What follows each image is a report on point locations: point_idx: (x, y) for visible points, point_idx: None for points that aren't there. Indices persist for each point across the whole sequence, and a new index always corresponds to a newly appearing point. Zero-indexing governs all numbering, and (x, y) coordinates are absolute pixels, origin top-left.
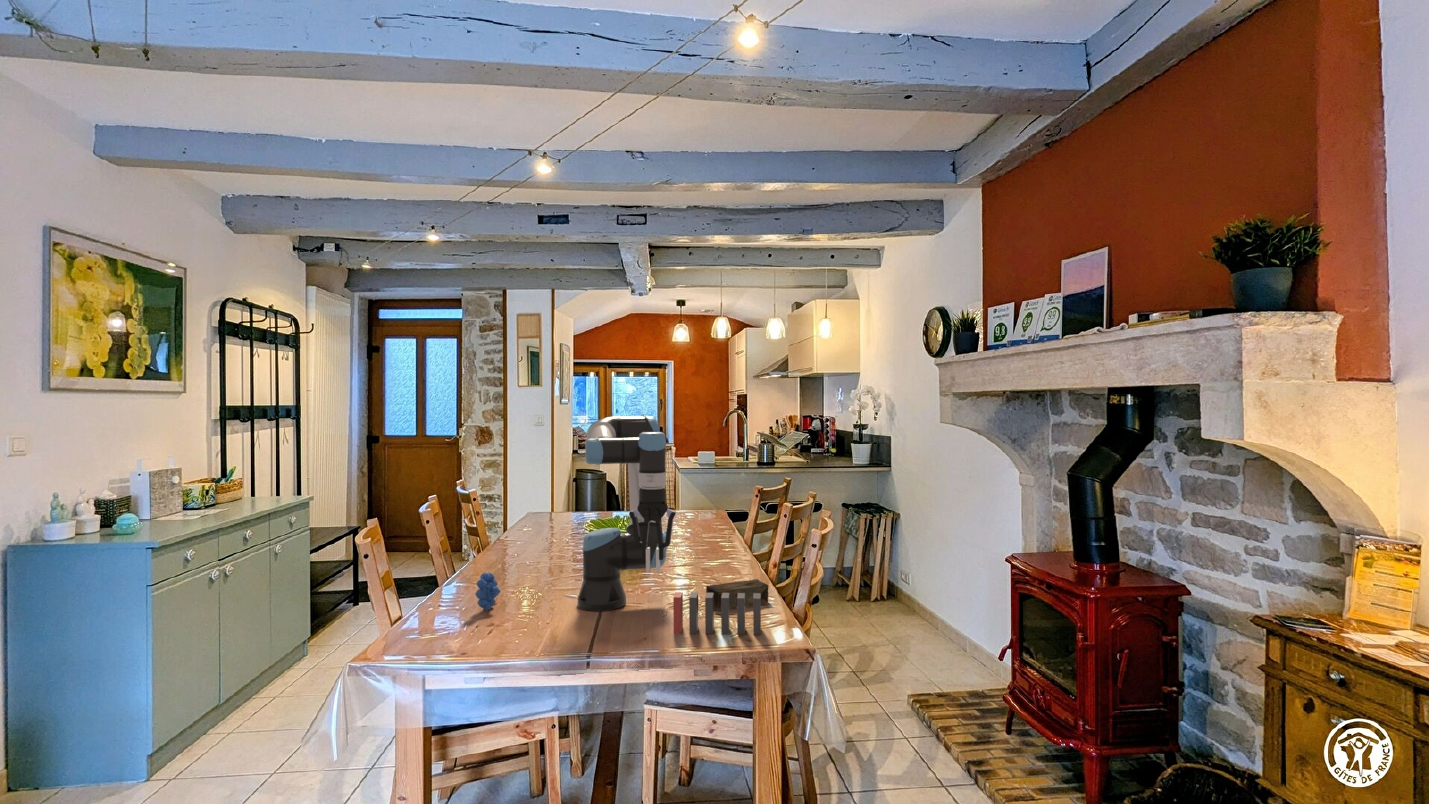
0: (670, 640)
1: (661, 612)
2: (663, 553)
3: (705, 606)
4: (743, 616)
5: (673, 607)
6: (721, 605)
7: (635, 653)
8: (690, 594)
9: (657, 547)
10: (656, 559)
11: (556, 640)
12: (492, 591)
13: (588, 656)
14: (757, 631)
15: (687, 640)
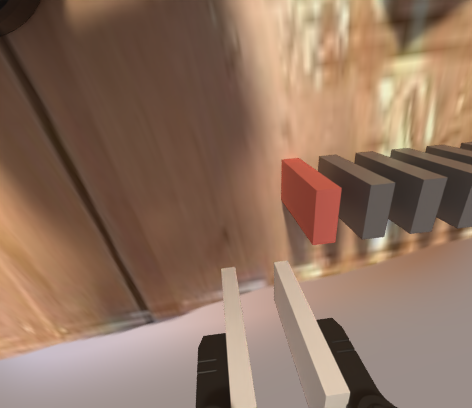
0: (279, 237)
1: (217, 21)
2: (354, 361)
3: (392, 220)
4: None
5: (301, 228)
6: (438, 217)
7: None
8: (367, 208)
9: (327, 404)
10: (296, 361)
11: (41, 275)
12: None
13: (151, 323)
14: None
15: None
